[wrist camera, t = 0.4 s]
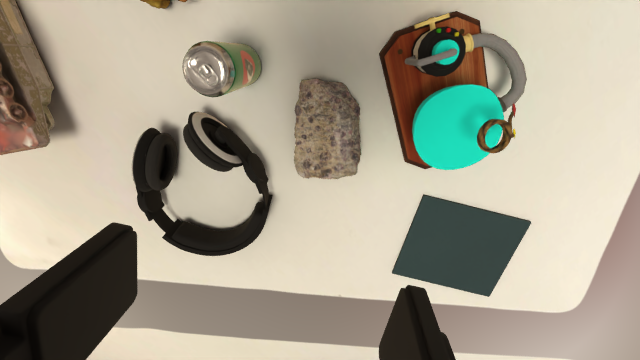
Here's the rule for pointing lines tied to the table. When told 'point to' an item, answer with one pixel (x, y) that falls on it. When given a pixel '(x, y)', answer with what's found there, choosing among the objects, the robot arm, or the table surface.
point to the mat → (459, 245)
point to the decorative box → (21, 86)
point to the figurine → (160, 3)
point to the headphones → (217, 153)
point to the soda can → (220, 67)
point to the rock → (326, 130)
